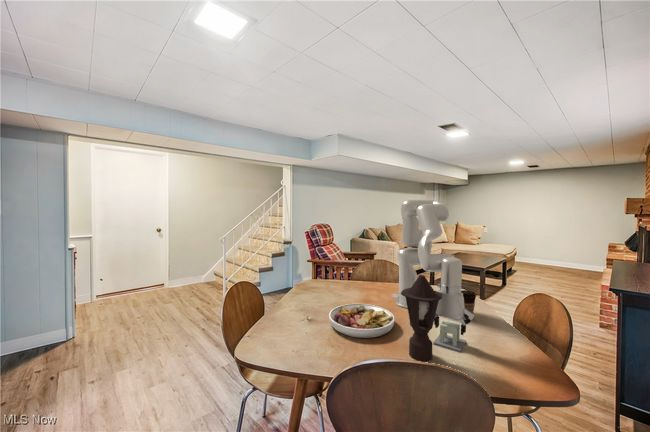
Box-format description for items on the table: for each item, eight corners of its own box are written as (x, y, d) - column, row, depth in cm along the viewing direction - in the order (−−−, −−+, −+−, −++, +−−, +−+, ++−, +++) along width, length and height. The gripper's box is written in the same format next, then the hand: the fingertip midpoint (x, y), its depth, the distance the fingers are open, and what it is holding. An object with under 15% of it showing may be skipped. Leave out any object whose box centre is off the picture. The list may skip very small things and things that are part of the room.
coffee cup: (478, 322, 133) (479, 295, 132) (459, 320, 135) (460, 294, 134) (472, 315, 141) (473, 289, 141) (455, 313, 143) (455, 288, 143)
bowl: (356, 308, 151) (356, 294, 151) (406, 325, 130) (407, 309, 129) (315, 325, 130) (315, 308, 130) (367, 349, 109) (367, 329, 108)
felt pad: (433, 344, 112) (433, 342, 112) (440, 335, 120) (440, 333, 120) (460, 352, 106) (460, 350, 106) (466, 342, 114) (466, 340, 114)
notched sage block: (439, 341, 112) (440, 324, 112) (443, 336, 117) (444, 319, 117) (455, 346, 109) (456, 328, 108) (459, 340, 113) (459, 323, 113)
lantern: (450, 366, 97) (452, 280, 95) (408, 368, 96) (410, 281, 94) (430, 344, 112) (432, 270, 110) (394, 346, 110) (395, 271, 109)
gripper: (425, 286, 114) (424, 327, 115) (473, 295, 104) (471, 340, 105) (431, 282, 120) (430, 321, 121) (476, 290, 110) (475, 333, 111)
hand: (449, 330), depth 113 cm, fingers open, 9 cm apart
